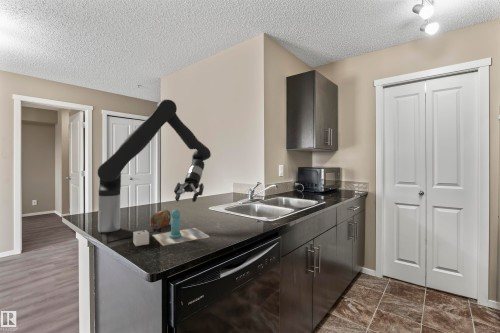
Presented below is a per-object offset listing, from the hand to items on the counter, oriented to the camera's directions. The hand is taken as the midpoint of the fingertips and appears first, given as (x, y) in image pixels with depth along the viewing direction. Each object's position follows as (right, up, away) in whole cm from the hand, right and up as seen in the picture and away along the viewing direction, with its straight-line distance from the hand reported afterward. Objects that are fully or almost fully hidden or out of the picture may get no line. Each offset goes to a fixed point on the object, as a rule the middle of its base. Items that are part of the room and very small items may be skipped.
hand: (185, 200), depth 118 cm
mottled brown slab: (-14, -15, +6) cm, 22 cm away
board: (0, -15, -8) cm, 17 cm away
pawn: (-2, -15, -10) cm, 18 cm away
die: (-13, -15, -19) cm, 28 cm away
